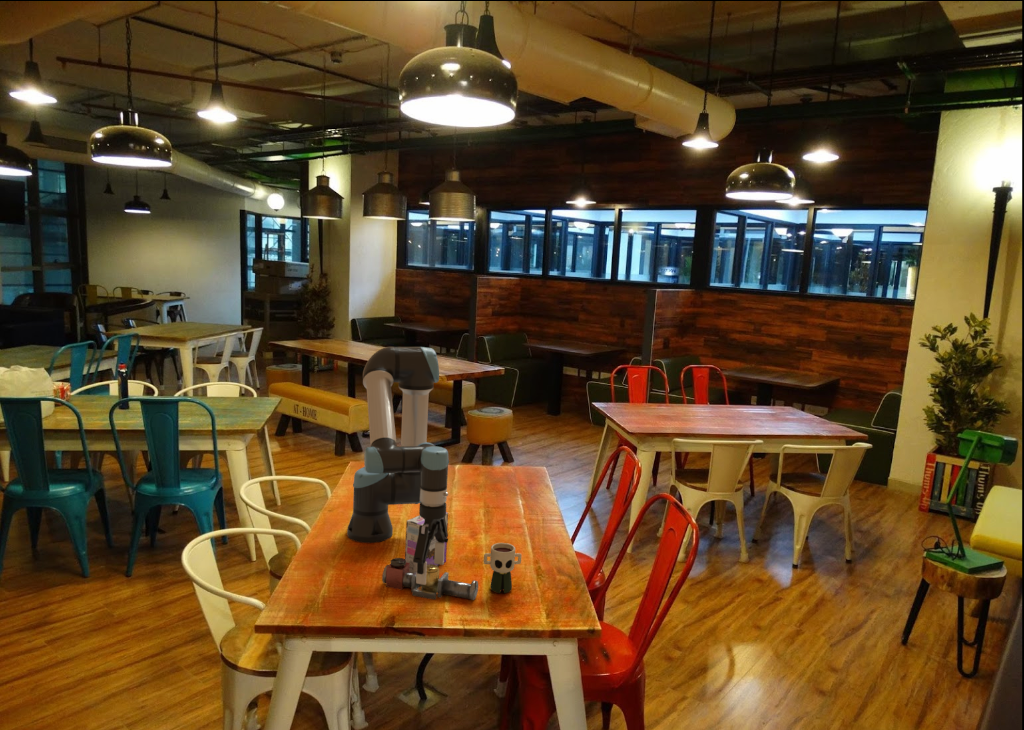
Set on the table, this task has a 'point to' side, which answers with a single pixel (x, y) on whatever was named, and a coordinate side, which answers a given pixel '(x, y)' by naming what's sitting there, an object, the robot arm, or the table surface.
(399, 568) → the pipe run
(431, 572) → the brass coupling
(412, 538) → the candy box
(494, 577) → the character mug
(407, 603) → the table surface
